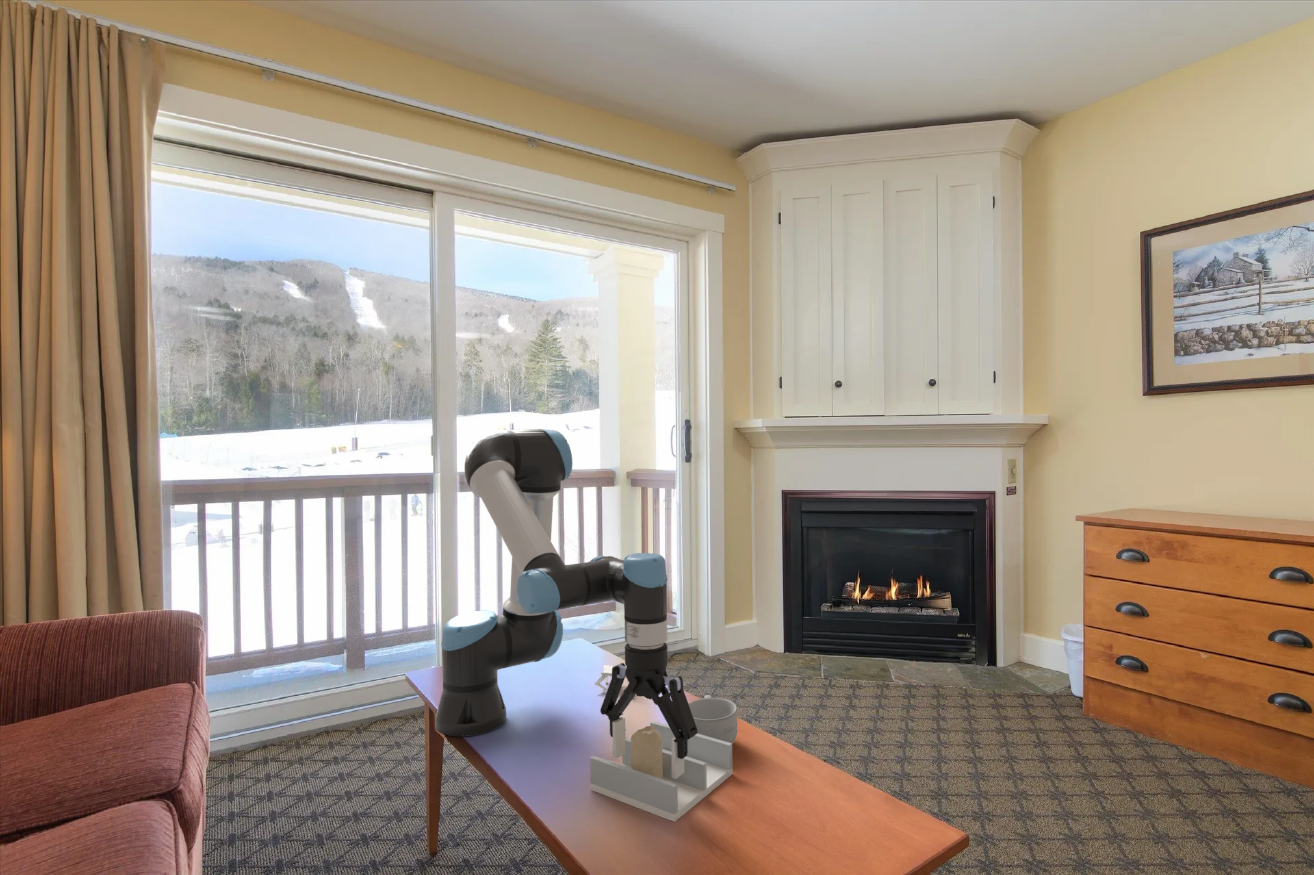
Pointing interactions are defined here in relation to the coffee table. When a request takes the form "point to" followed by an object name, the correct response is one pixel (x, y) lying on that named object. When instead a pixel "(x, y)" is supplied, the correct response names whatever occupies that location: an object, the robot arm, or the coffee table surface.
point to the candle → (647, 752)
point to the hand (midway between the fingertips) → (647, 765)
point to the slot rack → (665, 776)
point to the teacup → (715, 718)
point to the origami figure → (605, 676)
